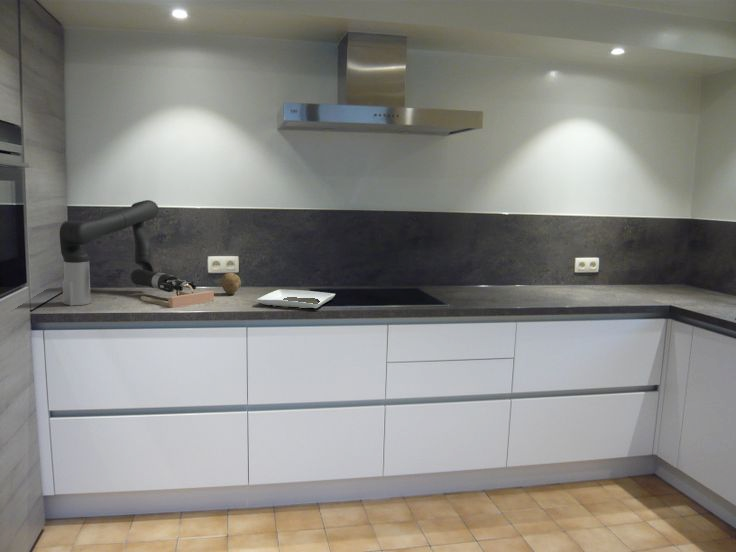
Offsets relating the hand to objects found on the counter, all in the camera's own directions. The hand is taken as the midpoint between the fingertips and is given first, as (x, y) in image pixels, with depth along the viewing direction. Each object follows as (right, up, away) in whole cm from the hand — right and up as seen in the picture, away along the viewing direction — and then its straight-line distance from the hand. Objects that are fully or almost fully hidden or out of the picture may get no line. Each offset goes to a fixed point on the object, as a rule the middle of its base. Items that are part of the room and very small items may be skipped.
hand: (188, 287), depth 248 cm
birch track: (-7, -5, +6) cm, 11 cm away
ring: (-2, -6, +2) cm, 7 cm away
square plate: (+44, -7, +9) cm, 46 cm away
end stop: (+2, -7, 0) cm, 7 cm away
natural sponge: (+12, -4, +24) cm, 27 cm away
